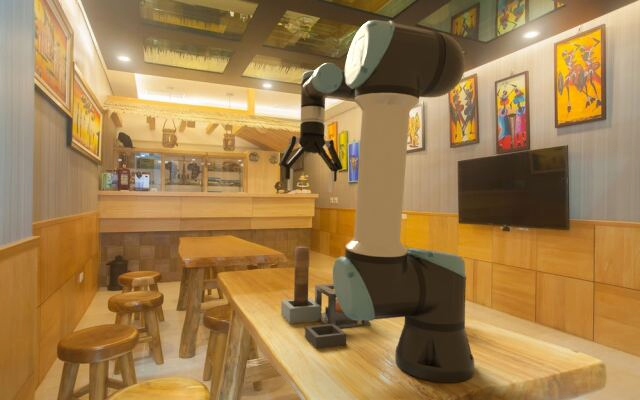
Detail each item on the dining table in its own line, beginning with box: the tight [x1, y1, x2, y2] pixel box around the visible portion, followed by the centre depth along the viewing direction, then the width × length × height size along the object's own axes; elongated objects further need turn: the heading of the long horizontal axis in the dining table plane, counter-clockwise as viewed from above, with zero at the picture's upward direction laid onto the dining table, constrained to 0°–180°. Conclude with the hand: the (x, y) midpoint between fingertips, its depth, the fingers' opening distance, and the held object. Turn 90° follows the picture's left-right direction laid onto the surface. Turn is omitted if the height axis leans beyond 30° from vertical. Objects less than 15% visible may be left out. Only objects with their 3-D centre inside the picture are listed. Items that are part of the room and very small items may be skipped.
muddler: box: [293, 246, 310, 307], centre depth 102 cm, size 4×4×20 cm
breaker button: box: [336, 298, 343, 312], centre depth 99 cm, size 4×4×4 cm
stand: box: [304, 324, 348, 349], centre depth 84 cm, size 8×8×2 cm
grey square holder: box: [280, 297, 322, 324], centre depth 101 cm, size 9×9×4 cm
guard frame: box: [314, 283, 371, 329], centre depth 100 cm, size 12×12×9 cm
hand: (310, 191), depth 110 cm, fingers open, 13 cm apart
